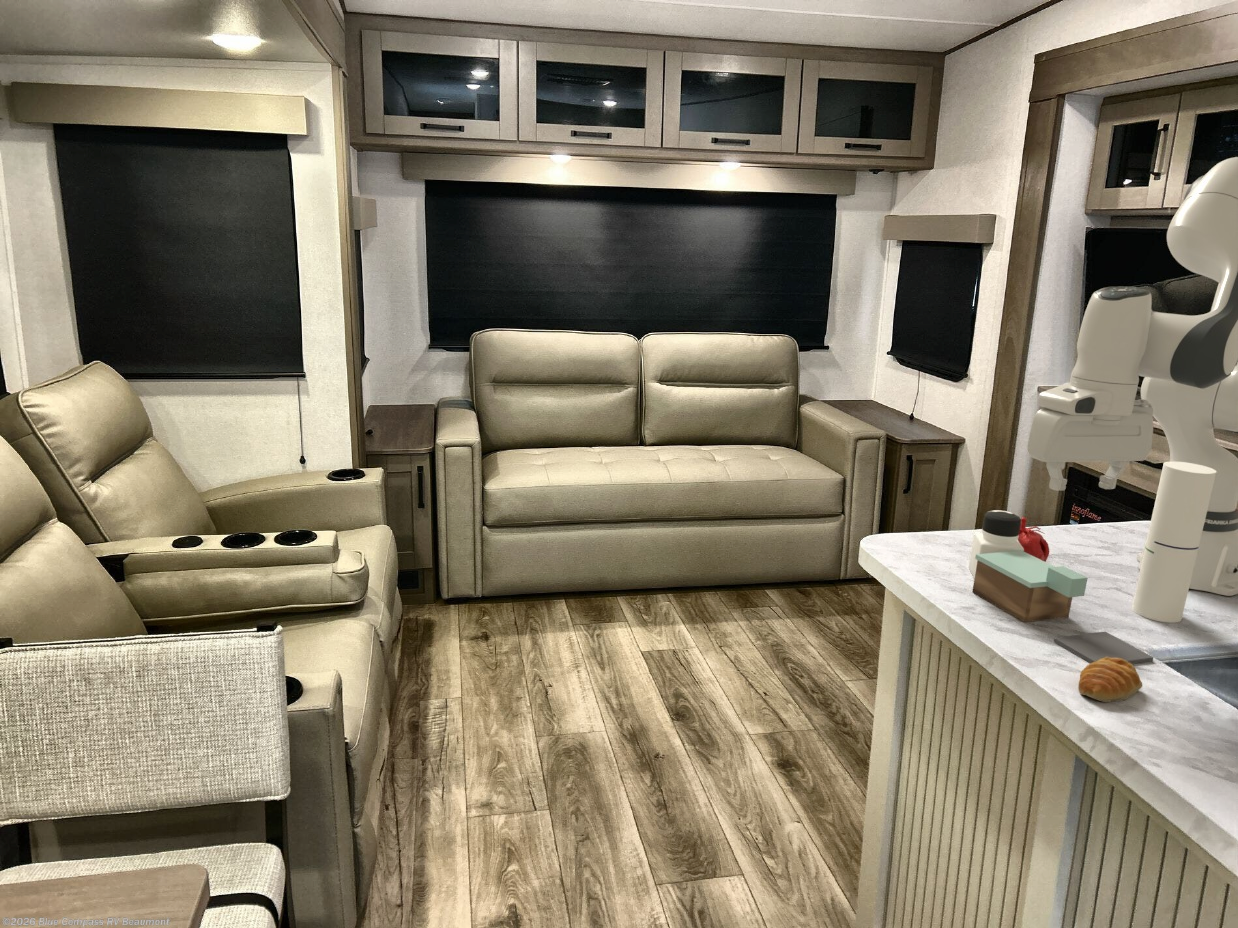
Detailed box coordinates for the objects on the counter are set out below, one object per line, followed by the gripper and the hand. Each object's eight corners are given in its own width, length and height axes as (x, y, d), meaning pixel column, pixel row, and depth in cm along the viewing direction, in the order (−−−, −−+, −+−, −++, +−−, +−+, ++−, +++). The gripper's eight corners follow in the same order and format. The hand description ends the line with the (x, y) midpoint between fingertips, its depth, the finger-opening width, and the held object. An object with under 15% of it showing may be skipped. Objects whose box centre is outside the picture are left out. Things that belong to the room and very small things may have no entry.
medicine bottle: (1018, 587, 155) (1029, 522, 152) (974, 582, 156) (985, 517, 153) (1009, 572, 162) (1020, 509, 159) (967, 567, 163) (978, 505, 160)
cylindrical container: (1164, 625, 142) (1199, 475, 136) (1122, 607, 148) (1153, 463, 142) (1191, 618, 146) (1226, 471, 139) (1148, 601, 152) (1180, 460, 145)
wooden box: (1014, 587, 155) (1020, 555, 153) (1068, 616, 144) (1075, 582, 142) (972, 592, 152) (977, 559, 150) (1023, 622, 141) (1030, 586, 139)
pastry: (1116, 713, 115) (1122, 686, 114) (1063, 691, 120) (1068, 666, 119) (1143, 691, 121) (1148, 665, 120) (1091, 671, 126) (1096, 647, 125)
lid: (1020, 554, 153) (1023, 538, 153) (1100, 594, 138) (1104, 575, 137) (975, 558, 150) (977, 541, 150) (1051, 599, 135) (1055, 580, 134)
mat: (1104, 634, 138) (1105, 631, 138) (1152, 660, 130) (1153, 657, 130) (1053, 641, 134) (1054, 637, 134) (1099, 668, 127) (1100, 664, 126)
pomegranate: (997, 574, 161) (1004, 525, 159) (982, 554, 171) (989, 508, 168) (1054, 578, 160) (1062, 529, 158) (1036, 557, 170) (1043, 511, 167)
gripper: (1137, 395, 137) (1118, 481, 141) (1029, 394, 131) (1012, 484, 134) (1172, 403, 131) (1152, 493, 135) (1061, 402, 125) (1043, 496, 129)
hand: (1081, 488), depth 135 cm, fingers open, 8 cm apart
